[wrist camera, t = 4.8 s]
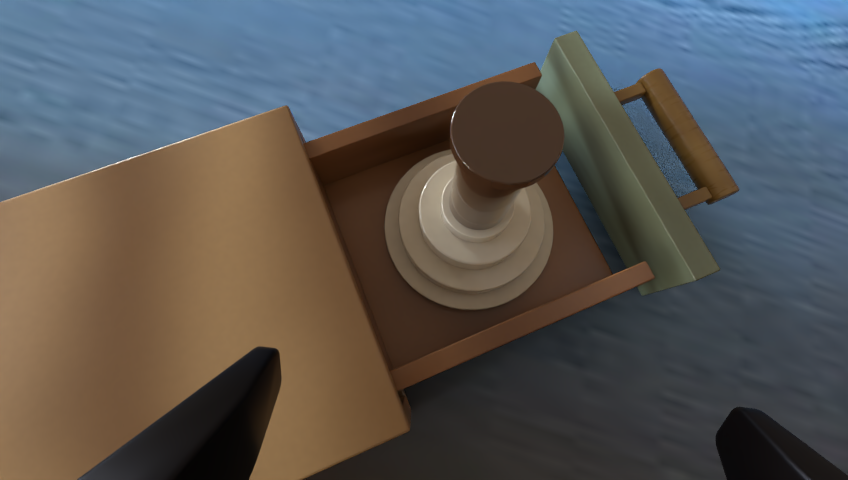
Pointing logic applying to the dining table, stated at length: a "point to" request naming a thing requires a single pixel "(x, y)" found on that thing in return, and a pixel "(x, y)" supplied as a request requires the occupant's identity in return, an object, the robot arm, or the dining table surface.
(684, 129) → the drawer
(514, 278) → the cream and brown stand
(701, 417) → the dining table surface
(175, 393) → the cabinet
